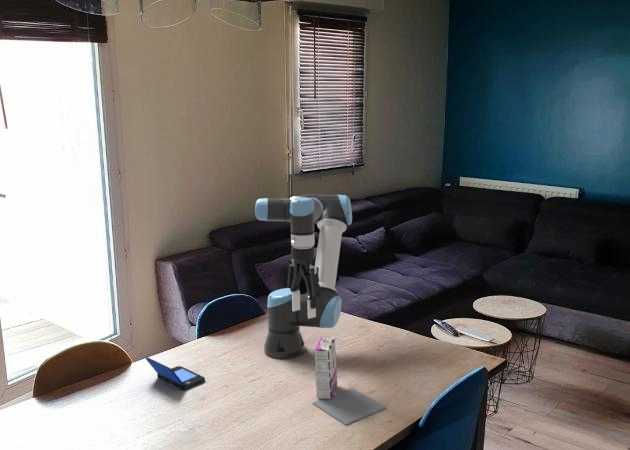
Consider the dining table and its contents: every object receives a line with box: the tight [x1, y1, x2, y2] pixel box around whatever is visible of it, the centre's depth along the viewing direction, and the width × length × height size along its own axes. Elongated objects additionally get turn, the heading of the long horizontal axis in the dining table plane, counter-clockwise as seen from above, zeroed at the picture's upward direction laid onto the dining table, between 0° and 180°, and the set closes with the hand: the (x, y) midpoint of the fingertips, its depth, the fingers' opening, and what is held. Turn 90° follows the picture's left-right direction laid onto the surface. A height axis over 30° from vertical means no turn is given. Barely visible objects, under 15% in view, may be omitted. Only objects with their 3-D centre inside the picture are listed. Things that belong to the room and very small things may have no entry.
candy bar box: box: [313, 336, 338, 400], centre depth 193 cm, size 11×5×16 cm, turn 168°
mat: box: [312, 387, 387, 426], centre depth 186 cm, size 16×16×1 cm
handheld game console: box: [145, 356, 206, 391], centre depth 203 cm, size 16×13×9 cm
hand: (303, 313), depth 199 cm, fingers open, 8 cm apart
